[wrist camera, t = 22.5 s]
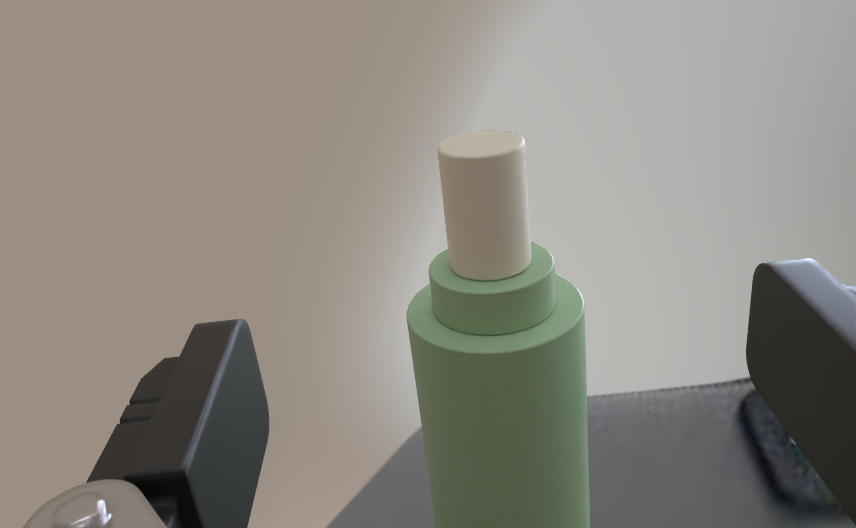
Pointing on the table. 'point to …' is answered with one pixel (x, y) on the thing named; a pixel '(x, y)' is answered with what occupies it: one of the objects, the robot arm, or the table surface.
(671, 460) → the table surface
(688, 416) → the table surface
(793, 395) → the robot arm
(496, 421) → the bottle
